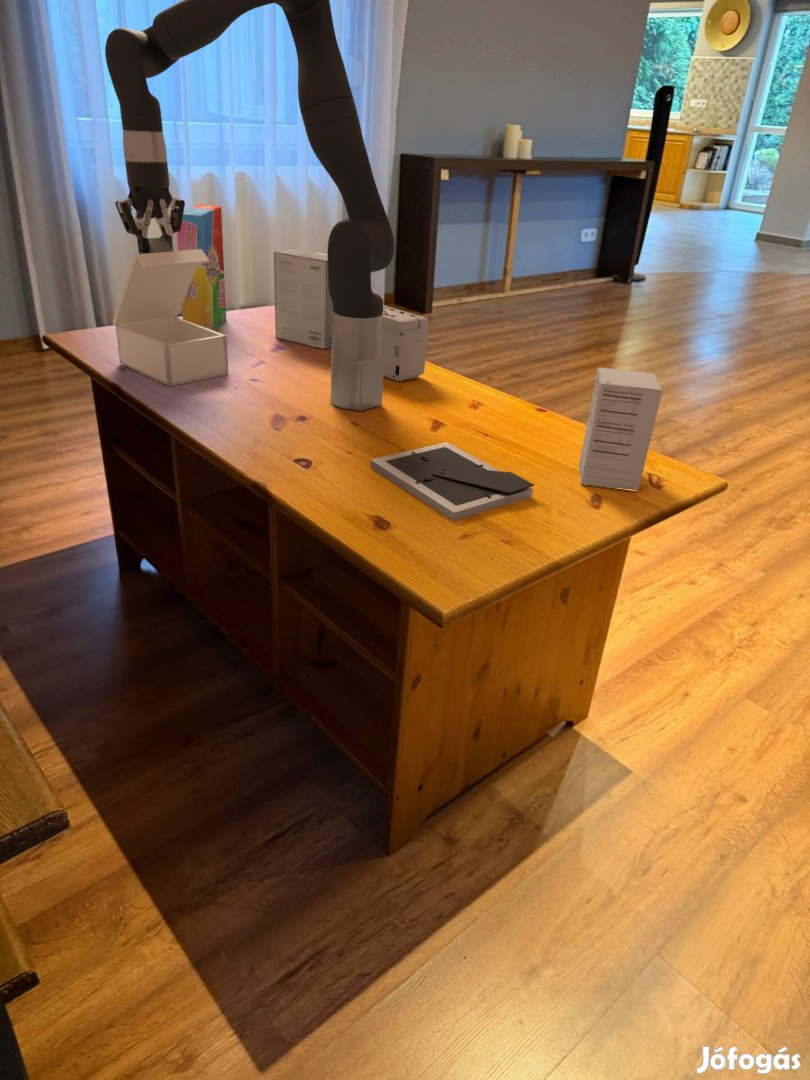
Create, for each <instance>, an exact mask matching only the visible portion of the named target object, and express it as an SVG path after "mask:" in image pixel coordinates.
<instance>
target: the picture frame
mask: <svg viewBox="0 0 810 1080" xmlns="http://www.w3.org/2000/svg"><path fill="white" fill-rule="evenodd" d="M370 468H371V469H372V470H373V471H376V472H377V473H378V474H380V475H382V476H383V477H384V478H385V479H387V480H389V481H390V482H392V483H394V484H396V485H397V486H398V487H400V488H401V489H403V490H404V491H407V492H408V493H409V494H410V495H413V496H414V497H416V498H417V499H418V500H420V501H421V502H423V503H425V504H426V505H428V506H429V507H431V508H432V509H434V510H435V511H437V512H438V513H440V514H442V515H443V516H445V517H446V518H448V519H449V520H451V521H452V522H454V521H458V520H462V519H465V518H467V517H471V516H475V515H477V514H481V513H484V512H485V513H486V512H487V511H488V512H489V511H491V510H493V509H497V507H498V508H502V507H503V506H506V505H507V504H508V505H510V504H511V505H512V504H515V503H517V501H518V502H521V501H524V500H527V499H531V498H532V497H533V492H534V488H532V487H533V486H535V484H534V483H532V482H530V481H528V480H526V479H525V478H522V477H521V476H519V475H517V474H515V473H514V472H511V471H501V470H499V469H497V468H495V467H494V466H491V465H490V464H488V463H487V462H485V461H483V460H482V459H479V458H477V457H475V456H474V455H472V454H470V453H468V452H466V451H465V450H463V449H461V448H459V447H457V446H455V445H453V444H451V443H449V442H448V441H445V442H442V443H441V442H440V443H436V444H432V445H427V446H424V447H419V448H416V449H411V450H407V451H403V452H398V453H394V454H389V455H385V456H381V457H380V456H379V457H376V458H372V459H370ZM520 500H521V501H520Z"/></svg>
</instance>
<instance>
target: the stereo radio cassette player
mask: <svg viewBox="0 0 810 1080" xmlns="http://www.w3.org/2000/svg"><path fill="white" fill-rule="evenodd" d="M428 336H429V319H428V318H427V317H425V316H422V315H418V314H415V313H412V312H408V311H405V310H401V309H397V308H395V307H392V306H387V305H384V304H383V319H382V337H381V356H383V357H384V375H383V377H386V378H388V379H391V380H394V381H398V382H397V383H400V382H402V381H407V380H411V379H417V378H419V377H420V376H422V375H424V373H425V367H426V361H427V351H428V338H429V337H428ZM399 381H400V382H399Z"/></svg>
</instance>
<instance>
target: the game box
mask: <svg viewBox="0 0 810 1080" xmlns="http://www.w3.org/2000/svg"><path fill="white" fill-rule="evenodd" d="M176 239H177V240H176V241H177V251H183V250H196V249H202V250H203V252H204V253H205V255H206V256H207V258H208V259H209V263H202V264H198V266H197V269H196V271H195V273H194V276H193V278H192V281H191V283H190V286H189V288H188V291H187V293H186V295H185V298H184V300H183V303H182V305H181V313H182V314H181V315H182V319H183V320H186V321H189V322H191V323H194V324H197V325H199V326H202V327H205V328H208V329H210V330H213V331H217V330H218V329H219V328H220V327H221V326H220V325H221V324H222V323H223V322H224V321H225V320H227V308H226V307H227V306H226V287H225V286H226V284H225V263H224V243H223V241H224V240H223V217H222V206H221V205H212V204H210V205H209V204H198V205H196V206H193V207H191V208H189V209H186V210H184V213H183V218H182V224H181V230H180V232H176ZM225 322H226V321H225ZM225 322H224V323H225ZM224 323H223V324H224ZM223 324H222V325H223ZM219 326H220V327H219ZM218 327H219V328H218ZM217 328H218V329H217Z"/></svg>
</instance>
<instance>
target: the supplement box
mask: <svg viewBox="0 0 810 1080" xmlns="http://www.w3.org/2000/svg"><path fill="white" fill-rule="evenodd" d="M593 386H594V387H593V392H592V397H591V403H590V409H589V410H590V411H589V415H588V419H587V422H586V423H587V424H586V426H585V433H584V438H583V444H582V449H581V453H580V458H579V463H578V465H579V466H578V468H579V478H580V479H581V480H580V485H581V484H584V485H583V486H588V485H594V486H593V487H595V486H602V487H609V488H608V489H610V488H622V489H631V490H638V491H639V490H640V486H641V482H642V481H641V480H642V477H643V472H644V469H645V464H646V461H647V457H648V452H649V448H650V444H651V440H652V435H653V431H654V426H655V422H656V418H657V414H658V410H659V408H660V407H659V406H660V402H661V399H662V394H663V390H662V388H661V385H660V383H659V380H658V378H657V375H656V374H655V373H653V372H652V373H651V372H644V371H635V370H634V371H633V370H625V369H617V368H608V367H598V368H597V371H596V376H595V381H594V385H593ZM602 487H601V488H602Z"/></svg>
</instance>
